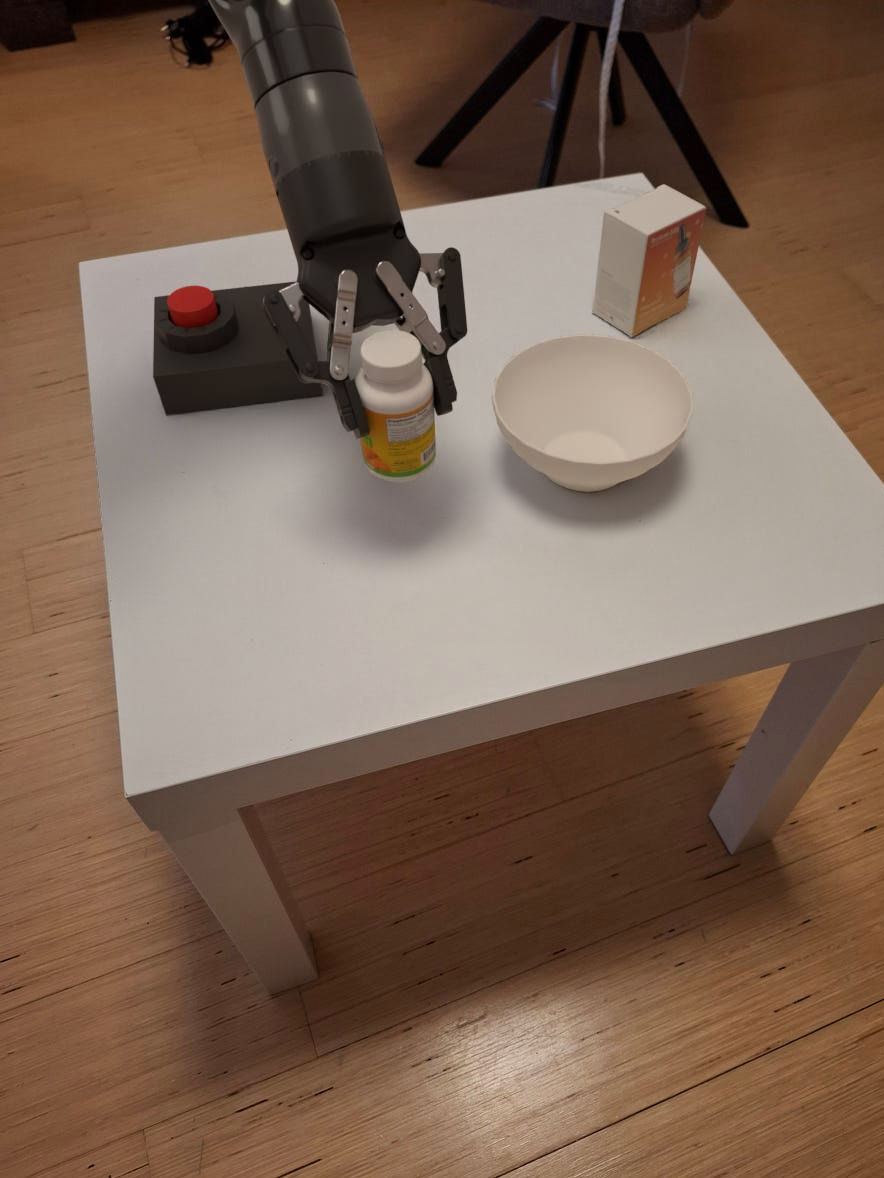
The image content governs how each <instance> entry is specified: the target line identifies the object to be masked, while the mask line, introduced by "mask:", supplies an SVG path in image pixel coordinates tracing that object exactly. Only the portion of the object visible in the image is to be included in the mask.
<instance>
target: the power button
mask: <svg viewBox="0 0 884 1178" xmlns="http://www.w3.org/2000/svg"><path fill="white" fill-rule="evenodd" d="M212 291H213V290H211V289H209V288H208V287H206V286H202V285H186V286H183V287H180V288H177V289H175V290H174V291H172V292H171V293H170V294H169V295H170V296H169V297H168V300H167V304H168V307H169V310H170V314H171V317H172V320H173V322H174V323H175V324H176V325H177V326H179V327H184V328H194V327H202V326H204V325H206V324H209V323H211V322H213V321H214V320H215V319H216V318H217V316H218V310H217V306H216V302H215V298H214V294H213V293H212Z"/></svg>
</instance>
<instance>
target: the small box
mask: <svg viewBox="0 0 884 1178" xmlns="http://www.w3.org/2000/svg"><path fill="white" fill-rule="evenodd" d="M706 214H707V207H706V206H705V205H704V204H702V203H700V202H698V201H696V200H695V199H692V198H691V197H689V196H688V195H685V194H684V193H681V192H680V191H678V190H676V189H674V188H672V187H671V186H669V185H667V184H663V183H662V184H661V185H658V186H657V187H656V188H654V189H652V190H650V191H647V192H646V193H643V194H641V195H639V196H637V197H634V198H633V199H630V200H628V201H626V202H624V203H622V204H619V205H616V206H615V207H612V208H609V209H606V210H604V211H603V219H602V225H601V226H602V227H601V234H600V235H601V236H600V245H599V253H598V263H597V270H596V271H597V272H596V277H595V279H596V280H595V288H594V296H593V305H592V313H593V314H594V315H596V316H598V317H599V318H601V319H602V320H604V321H605V322H607V323H609V324H610V325H612V326H613V327H615V328H617V329H618V330H619V331H621V332H623V333H624V334H626V335H627V336H629V337H630V338H633V337H635V336H637V335H638V334H640V333H642V332H643V331H645V330H647V329H649V328H650V327H652V326H654V325H656V324H658V323H660V322H662V321H664V320H666V319H668V318H670V317H671V316H674V315H676V314H677V313H680V312H682V311H684V310H685V309H686V308H687V305H688V301H689V297H690V291H691V287H692V281H693V278H694V277H693V276H694V271H695V267H696V261H697V256H698V252H699V247H700V241H701V237H702V233H703V228H704V222H705V218H706Z"/></svg>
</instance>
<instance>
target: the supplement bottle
mask: <svg viewBox="0 0 884 1178" xmlns="http://www.w3.org/2000/svg"><path fill="white" fill-rule="evenodd" d="M360 361H361V367H360V369H359V370H358V371H357V373H356V375H355V378H354V380H355V383H356V386H357V390H358V393H359V396H360V400H361V403H362V406H363V409H364V413H365V416H366V419H367V423H368V426H369V430H370V434H369V435H368V436H366V437H362V438H359V440H360V446H361V454H362V455H361V456H362V460H363V464H364V466H365V467H366V469H367V470H368V471H369V472H370V473H371V474H372V475H373V476H375V477H376V478H379V479H380V480H382V481H387V482H391V483H402V482H409V481H413V480H415V479H418V478H420V477H422V476H423V475H425V474H426V473H427V472H429V471H430V469H431V468H433V465H434V464H435V461H436V455H437V444H436V443H437V442H436V440H437V439H436V421H435V408H434V393H433V381H432V377H431V374H430V372H429V370H428V369H427V368H426V367H425V366H424V365H423V357H422V354H421V345H420V343H419V341H418V339H417V338H416V337H414V336H413V335H412V334H410V333H407V332H404V331H400V330H399V329H385V330H380V331H377V332H374V333H372V334H371V335H369V336H368V337H366V338H365V340H363V342H362V344H361V345H360Z"/></svg>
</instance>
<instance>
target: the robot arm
mask: <svg viewBox="0 0 884 1178" xmlns="http://www.w3.org/2000/svg"><path fill="white" fill-rule="evenodd" d="M207 1H208V2H209V4H210V6H211V8H212V10H213V12H214V13H215V16H216V17H217V19H218V20H219V22H220V23H221V25H222V27H223V28H224V30H225V32H226V33H227V35H228V37H229V39H230V41H231V42H232V45H233V46H234V47H235V50H236V52H237V56H238V60H239V63H240V66H241V69H242V73H243V75H244V79H245V82H246V85H247V89H248V92H249V95H250V98H251V102H252V105H253V108H254V111H255V116H256V120H257V124H258V130H259V137H260V142H261V147H262V151H263V155H264V158H265V162H266V165H267V168H268V171H269V175H270V178H271V182H272V185H273V188H274V191H275V195H276V198H277V201H278V204H279V207H280V210H281V213H282V217H283V220H284V224H285V226H286V230H287V233H288V237H289V240H290V243H291V247H292V250H293V253H294V256H295V260H296V263H297V278H296V281H297V282H296V283H294V284H292V285H290V286H287V287H285V288H283V289H281V290H279V291H277V290H274V289H273V290H269V291H267V292H266V294H265V296H264V299H263V305H262V310H263V312H264V314H265V316H266V318H267V320H268V322H269V323H270V325H271V327H272V329H273V331H274V333H275V335H276V337H277V339H278V340H279V342H280V344H281V346H282V348H283V350H284V352H285V354H286V355H287V357H288V359H289V361H290V363H291V365H292V367H293V369H294V371H295V372H296V374H297V376H298V378H299V380H300V381H301V382H303V383H311V382H315V383H321V384H323V385H326V386H327V387H328V388H329V389H330V391H331V393H332V397H333V400H334V403H335V407H336V410H337V413H338V416H339V420H340V423H341V426H342V428H343V429H344V430H345V431H346V433H351V432H353V434H354V437H355V439H356V440H358V439H359V440H360V438H362V437H366V436H368V435H369V434H370V430H369V426H368V423H367V419H366V416H365V413H364V409H363V406H362V403H361V400H360V396H359V393H358V390H357V386H356V383H355V378H351V376H350V373H349V367H350V358H351V357H350V356H351V346H352V341H353V334H356V333H361V332H363V331H365V330H366V329H368V328H370V327H371V326H372V327H373V326H374V327H384V326H389V325H392V324H394V326H396V328H397V330H400V331H404V332H407V333H410V334H412V335H413V336H414V337H416V338H417V339H418V341H419V343H420V345H421V354H422V359H423V360H424V362H422V364H423V365H424V366H425V367H426V368H427V369H428V370H429V372H430V374H431V377H432V381H433V393H434V413H435V414H436V416H437V417H440V416H444V415H447V414H450V413H451V412H453V411H454V409H453V408H454V407H453V403H455V402H456V401H457V400H458V390H457V387H456V384H455V380H454V376H453V373H452V369H451V366H450V362H449V358H448V352H449V350H450V348H452V347H453V346H455V345H456V344H458V342H459V341H461V340H462V339H464V338H465V337H466V336H467V334H468V321H467V310H466V309H467V308H466V300H465V289H464V279H463V277H464V276H463V268H462V255H461V253H460V251H459V250H458V249H457V248H455V247H454V246H453V247H450V246H449V247H447V248H446V249H445V250H444V251H443V252H427V253H426V252H424V253H420V252H419V250H418V249H417V248H416V246H415V245H414V244H413V243H412V241H410V239H409V236H408V235H407V230H406V228H405V223H404V219H403V215H402V213H401V208H400V206H399V201H398V198H397V195H396V191H395V188H394V183H393V181H392V179H391V174H390V170H389V166H388V163H387V160H386V156H385V147H384V143H383V140H382V137H381V136H380V134H379V132H378V128H377V125H376V122H375V118H374V115H373V113H372V110H371V108H370V106H369V103H368V101H367V99H366V97H365V94H364V92H363V88H362V86H361V82H360V79H359V75H358V71H357V68H356V65H355V62H354V58H353V54H352V51H351V47H350V44H349V40H348V36H347V34H346V30H345V28H344V23H343V21H342V18H341V14H340V11H339V8H338V6H337V4H336V3H335V1H334V0H207ZM420 272H421V273H423V274H424V275H425V276H426V279H427V281H428V284H429V285H430V286H431V287H432V288H435V289H436V291H437V292H436V293H437V301H438V312H439V320H440V321H439V323H440V332H438V330H437V329H436V328H435V326H434V325H433V324H432V322H431V321H430V319H429V315H428V313H427V311H426V310H425V309H424V307H423V306H422V305H421V303H420V302H419V300H418V298H416V296H415V295H414V293H413V292H414V288H415V285H416V282H417V280H418V276H419V273H420ZM302 298H303V299H304V300H305V301H306V302H308V303H309V306H311V307H312V308H313V309H315V310H316V311H317V312H318V313H319V314H320V315H322V316H323V317H324V318H325V319H326V320H327V321H329V322H328V330H327V331H328V332H327V342H326V343H327V344H326V350H327V352H326V353H327V354H326V361H325V360H318V361H317V360H316V359H315V357H314V355H313V353H312V351H311V349H310V347H309V345H308V343H307V342H306V340H305V338H304V336H303V334H302V332H301V330H300V328H299V326H298V324H297V322H296V321H297V320H298V319H299V316H300V314H301V310H300V307H299V301H300V300H301V299H302Z"/></svg>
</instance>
